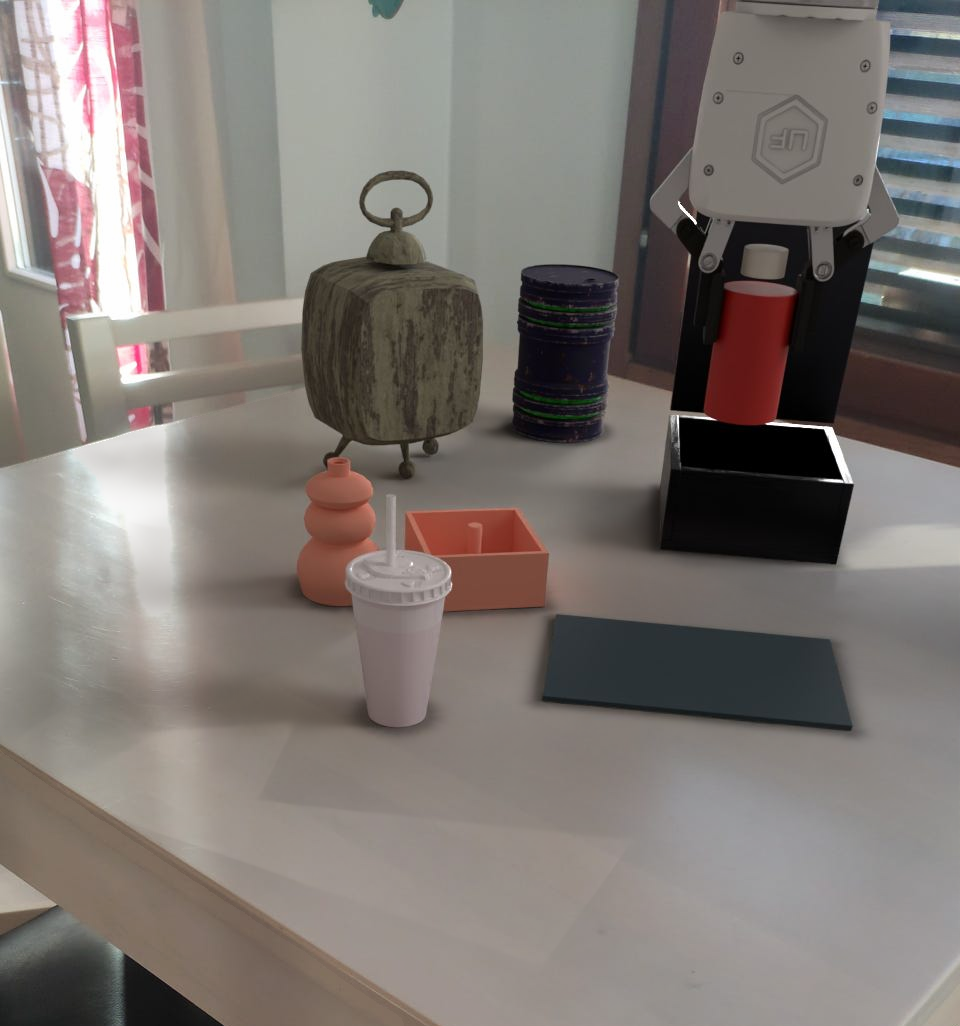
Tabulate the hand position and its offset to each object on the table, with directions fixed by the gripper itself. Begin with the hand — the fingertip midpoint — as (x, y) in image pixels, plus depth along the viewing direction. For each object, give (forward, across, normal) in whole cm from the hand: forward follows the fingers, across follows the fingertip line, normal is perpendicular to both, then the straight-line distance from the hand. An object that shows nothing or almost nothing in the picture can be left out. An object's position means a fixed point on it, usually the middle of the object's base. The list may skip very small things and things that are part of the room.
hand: (751, 339), depth 78 cm
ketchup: (+5, 0, 0) cm, 5 cm away
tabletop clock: (+21, -28, +32) cm, 48 cm away
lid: (+6, +4, +33) cm, 34 cm away
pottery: (+21, -22, +6) cm, 31 cm away
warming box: (+21, +4, +26) cm, 34 cm away
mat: (+21, -1, -4) cm, 21 cm away
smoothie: (+21, -20, -14) cm, 32 cm away
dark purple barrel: (+21, -14, +50) cm, 56 cm away
